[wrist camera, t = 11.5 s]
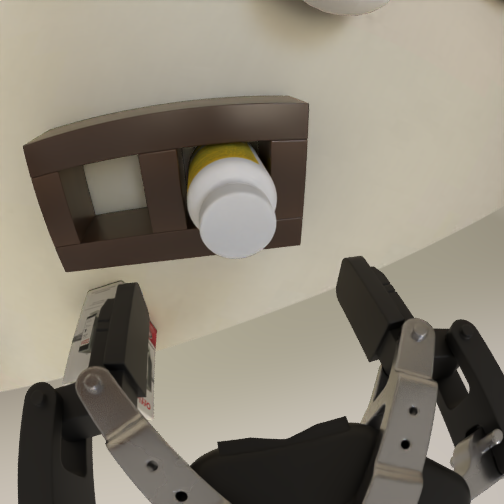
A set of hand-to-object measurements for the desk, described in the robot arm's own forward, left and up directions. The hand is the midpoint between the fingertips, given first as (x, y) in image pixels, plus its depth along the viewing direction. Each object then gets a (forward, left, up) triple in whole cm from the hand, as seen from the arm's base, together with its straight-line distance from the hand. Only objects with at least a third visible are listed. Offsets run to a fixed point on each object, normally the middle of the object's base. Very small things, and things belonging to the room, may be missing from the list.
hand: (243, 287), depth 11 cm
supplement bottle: (0, +1, -15) cm, 15 cm away
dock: (0, -4, -14) cm, 15 cm away
